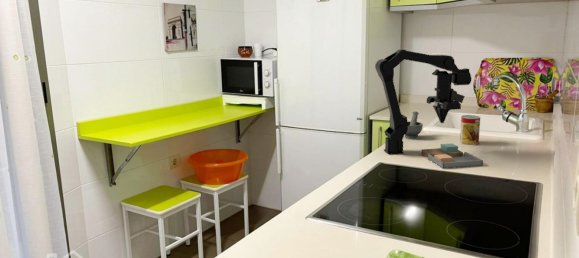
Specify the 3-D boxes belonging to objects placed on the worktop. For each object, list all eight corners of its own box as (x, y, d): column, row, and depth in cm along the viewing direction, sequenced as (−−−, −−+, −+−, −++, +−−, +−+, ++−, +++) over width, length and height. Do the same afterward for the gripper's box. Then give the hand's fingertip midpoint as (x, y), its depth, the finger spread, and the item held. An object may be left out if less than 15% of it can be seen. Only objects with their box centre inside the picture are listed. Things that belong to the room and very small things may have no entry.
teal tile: (446, 152, 181) (446, 147, 181) (440, 148, 186) (440, 144, 186) (457, 151, 182) (458, 146, 182) (451, 148, 187) (452, 143, 187)
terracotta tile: (440, 163, 172) (440, 158, 171) (434, 159, 177) (434, 154, 176) (452, 162, 173) (452, 157, 172) (445, 158, 177) (445, 153, 177)
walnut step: (429, 159, 179) (430, 154, 178) (421, 153, 186) (421, 149, 186) (462, 156, 181) (462, 152, 180) (452, 151, 188) (452, 147, 188)
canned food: (480, 145, 197) (482, 118, 194) (461, 144, 198) (462, 118, 196) (476, 140, 204) (478, 115, 202) (458, 140, 206) (459, 114, 203)
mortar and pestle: (417, 141, 207) (418, 115, 204) (398, 138, 212) (398, 113, 209) (425, 136, 216) (426, 111, 213) (406, 133, 221) (406, 109, 218)
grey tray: (442, 168, 167) (442, 163, 166) (427, 159, 178) (428, 154, 178) (482, 165, 169) (482, 160, 169) (465, 156, 181) (465, 151, 180)
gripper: (474, 87, 177) (472, 126, 181) (451, 82, 195) (449, 117, 199) (448, 89, 176) (446, 128, 179) (426, 83, 194) (425, 119, 197)
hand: (442, 122), depth 189 cm, fingers closed
